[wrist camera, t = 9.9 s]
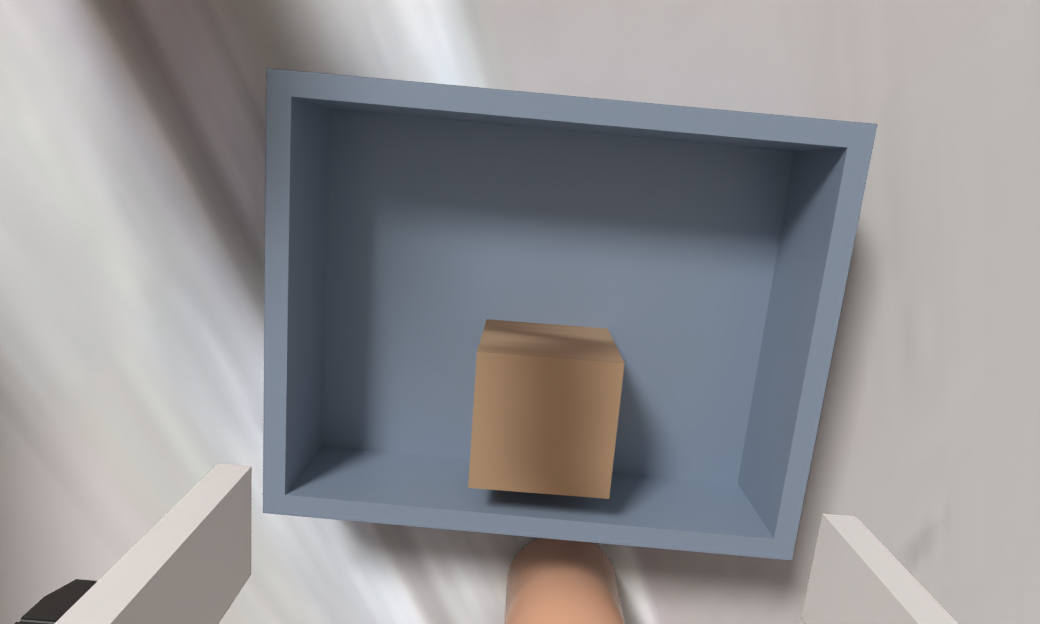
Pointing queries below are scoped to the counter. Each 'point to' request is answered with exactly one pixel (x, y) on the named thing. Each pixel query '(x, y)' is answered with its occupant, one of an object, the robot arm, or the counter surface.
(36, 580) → the counter surface
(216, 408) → the counter surface
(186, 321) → the counter surface
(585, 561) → the peach capsule pill
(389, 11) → the counter surface
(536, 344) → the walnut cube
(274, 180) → the tote
